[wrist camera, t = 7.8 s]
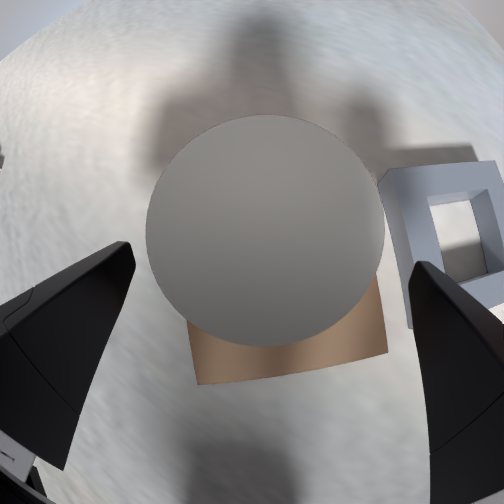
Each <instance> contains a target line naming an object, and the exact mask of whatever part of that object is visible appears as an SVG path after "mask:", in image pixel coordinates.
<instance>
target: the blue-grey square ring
mask: <svg viewBox="0 0 504 504" xmlns="http://www.w3.org/2000/svg"><path fill="white" fill-rule="evenodd" d="M378 189H379V192H380V195H381V199H382V202H383V206H384V210H385V213H386V217H387V221H388V225H389V229H390V233H391V237H392V241H393V246H394V250H395V255H396V259H397V264H398V269H399V274H400V279H401V285H402V290H403V296H404V302H405V308H406V315H407V322H408V329H413V325H412V316H411V307H410V300H409V292H408V282H409V279H410V276H411V273H412V271H413V268H414V265H415V263H416V262H417V261H418V260H420V261H429V262H431V263H432V264H433V265H434V266H436V267H437V268H438V269H440V270H441V271H442V272H443V273H445V270H444V265H443V260H442V255H441V251H440V246H439V242H438V238H437V234H436V230H435V226H434V222H433V218H432V215H431V211H430V208H429V206H433V205H440V204H446V203H452V202H459V201H465V200H470V201H471V205H472V208H473V212H474V215H475V219H476V222H477V226H478V230H479V234H480V238H481V242H482V247H483V251H484V256H485V261H486V266H487V271H488V273H487V274H484V275H481V276H478V277H475V278H472V279H469V280H465V281H462V282H459V283H457V284H458V285H460V286H461V287H462V288H463V289H465V290H466V291H467V292H468V293H469V294H471V295H472V296H473V297H474V298H475V299H476V300H478V301H479V302H480V303H481V304H482V305H483V306H485V307H486V308H487V309H489V308H492V307H494V306H497V305H499V304H502V303H504V183H503V181H502V178H501V175H500V172H499V170H498V167H497V164H496V162H495V160H494V161H476V162H461V163H447V164H436V165H425V166H415V167H405V168H396V169H388V171H387V172H386V173H385V175H384V176H383V178H382V179H381V180H380V182H379V183H378Z"/></svg>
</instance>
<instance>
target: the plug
mask: <svg viewBox="0 0 504 504" xmlns="http://www.w3.org/2000/svg"><path fill="white" fill-rule="evenodd" d="M384 234H385V225H384V213H383V208H382V203H381V198H380V196H379V193H378V190H377V187H376V184H375V182H374V180H373V178H372V176H371V175H370V173H369V171H368V169H367V168H366V166H365V165H364V164H363V162H362V161H361V159H360V158H359V157H358V156H357V155H356V154H355V153H354V151H353V150H352V149H351V148H350V147H349V146H347V145H346V144H345V143H344V142H343V141H342V140H340V139H339V138H338V137H336V136H335V135H333V134H332V133H330V132H329V131H327V130H325V129H323V128H321V127H319V126H317V125H315V124H313V123H310V122H307V121H304V120H301V119H297V118H293V117H288V116H281V115H253V116H245V117H241V118H237V119H233V120H229V121H227V122H224V123H221V124H219V125H216V126H214V127H212V128H210V129H208V130H206V131H205V132H203V133H201V134H200V135H198V136H197V137H195V138H194V139H193V140H191V141H190V142H189V143H188V144H187V145H185V146H184V147H183V148H182V149H181V150H180V151H179V152H178V153H177V154H176V155H175V156H174V158H173V159H172V160H171V161H170V163H169V164H168V165H167V167H166V168H165V170H164V171H163V173H162V175H161V176H160V178H159V180H158V182H157V184H156V186H155V189H154V191H153V194H152V196H151V200H150V203H149V207H148V211H147V219H146V246H147V253H148V258H149V262H150V265H151V269H152V271H153V274H154V276H155V278H156V281H157V283H158V285H159V287H160V288H161V290H162V292H163V293H164V295H165V297H166V298H167V299H168V300H169V302H170V303H171V304H172V305H173V307H174V308H175V309H176V310H177V311H178V312H179V313H180V314H181V315H182V316H183V317H184V318H185V319H187V320H188V321H189V322H191V323H192V324H193V325H195V326H196V327H198V328H199V329H201V330H202V331H204V332H206V333H208V334H210V335H212V336H214V337H216V338H219V339H222V340H225V341H228V342H231V343H235V344H240V345H245V346H256V347H271V346H282V345H287V344H291V343H296V342H300V341H302V340H305V339H308V338H310V337H313V336H315V335H317V334H319V333H321V332H323V331H324V330H326V329H328V328H330V327H331V326H333V325H334V324H335V323H337V322H338V321H339V320H341V319H342V318H343V317H345V316H346V315H347V314H348V313H349V312H350V311H351V310H352V309H353V308H354V307H355V306H356V305H357V303H358V302H359V301H360V299H361V298H362V297H363V295H364V294H365V292H366V291H367V289H368V287H369V286H370V284H371V282H372V280H373V278H374V276H375V274H376V271H377V268H378V266H379V263H380V260H381V255H382V251H383V246H384Z"/></svg>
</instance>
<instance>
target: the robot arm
mask: <svg viewBox="0 0 504 504" xmlns="http://www.w3.org/2000/svg"><path fill="white" fill-rule="evenodd" d="M135 268H136V262H135V258H134V255H133V251H132V248H131V245H130V243H129V242H124V241H117V242H115V243H113V244H111V245H109V246H107V247H105V248H103V249H101V250H99V251H98V252H96V253H94V254H92V255H90V256H88V257H86V258H84V259H82V260H81V261H79V262H77V263H75V264H73V265H71V266H69V267H68V268H66V269H64V270H62V271H60V272H59V273H57V274H55V275H53V276H51V277H50V278H48V279H46V280H44V281H43V282H41V283H39V284H37V285H36V286H35V287H32V288H31V289H29V290H27V291H25V292H24V293H22V294H20V295H18V296H17V297H15V298H13V299H11V300H10V301H8V302H6V303H4V304H2V305H1V306H0V504H56V503H54V502H53V501H51V500H49V499H48V498H47V496H46V493H45V490H44V488H43V485H42V482H41V479H40V476H39V473H38V470H37V468H36V467H35V466H33V463H34V461H35V458H36V456H38V457H39V458H41V459H43V460H44V461H46V462H48V463H49V464H51V465H53V466H54V467H56V468H58V469H60V470H62V471H63V470H64V467H65V464H66V460H67V457H68V453H69V450H70V446H71V443H72V440H73V436H74V433H75V430H76V427H77V424H78V420H79V417H80V416H79V415H80V414H81V411H82V408H83V405H84V402H85V399H86V396H87V394H88V391H89V388H90V385H91V383H92V380H93V377H94V374H95V372H96V369H97V367H98V364H99V361H100V359H101V356H102V354H103V351H104V349H105V346H106V344H107V342H108V339H109V337H110V334H111V332H112V330H113V327H114V325H115V323H116V320H117V318H118V316H119V314H120V311H121V309H122V306H123V304H124V301H125V298H126V295H127V292H128V289H129V286H130V283H131V280H132V277H133V274H134V272H135ZM408 292H409V300H410V307H411V316H412V325H413V332H414V337H415V342H416V347H417V352H418V358H419V363H420V369H421V375H422V382H423V389H424V396H425V404H426V413H427V423H428V435H429V450H430V504H472V503H473V504H504V324H502V322H501V321H500V320H499V319H498V318H497V317H496V316H495V315H494V314H492V313H491V312H490V311H489V310H488V309H487V308H486V307H485V306H483V305H482V304H481V303H480V302H479V301H478V300H476V299H475V298H474V297H473V296H472V295H471V294H469V293H468V292H467V291H466V290H465V289H463V288H462V287H461V286H460V285H458V284H457V283H456V282H455V281H454V280H452V279H451V278H450V277H449V276H447V275H446V274H445V273H443V272H442V271H441V270H440V269H438V268H437V267H436V266H434V265H433V264H432V263H431V262H429V261H420V260H418V261H417V262H416V263H415V265H414V268H413V271H412V273H411V276H410V279H409V282H408Z"/></svg>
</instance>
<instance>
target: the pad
mask: <svg viewBox="0 0 504 504" xmlns="http://www.w3.org/2000/svg"><path fill="white" fill-rule="evenodd" d="M186 320H187V319H186ZM187 327H188V333H189V339H190V345H191V351H192V357H193V362H194V368H195V373H196V378H197V383H198V385H204V384H216V383H227V382H236V381H245V380H253V379H261V378H268V377H275V376H281V375H288V374H294V373H299V372H305V371H311V370H316V369H321V368H326V367H331V366H335V365H340V364H345V363H349V362H353V361H358V360H362V359H366V358H370V357H374V356H378V355H381V354H385V353H388V346H387V338H386V330H385V323H384V317H383V310H382V304H381V298H380V292H379V287H378V281H377V276H376V274H375V276H374V278H373V280H372V282H371V284H370V286H369V287H368V289H367V291H366V292H365V294H364V295H363V297H362V298H361V299H360V301H359V302H358V303H357V305H356V306H355V307H354V308H353V309H352V310H351V311H350V312H349V313H348V314H347V315H346V316H345V317H343V318H342V319H341V320H339V321H338V322H337V323H335V324H334V325H333V326H331V327H330V328H328V329H326V330H324V331H323V332H321V333H319V334H317V335H315V336H313V337H310V338H308V339H305V340H302V341H300V342H296V343H291V344H287V345H282V346H271V347H256V346H245V345H240V344H235V343H231V342H228V341H225V340H222V339H219V338H216V337H214V336H212V335H210V334H208V333H206V332H204V331H202V330H201V329H199V328H198V327H196V326H195V325H193V324H192V323H191V322H189V321H188V320H187Z"/></svg>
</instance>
